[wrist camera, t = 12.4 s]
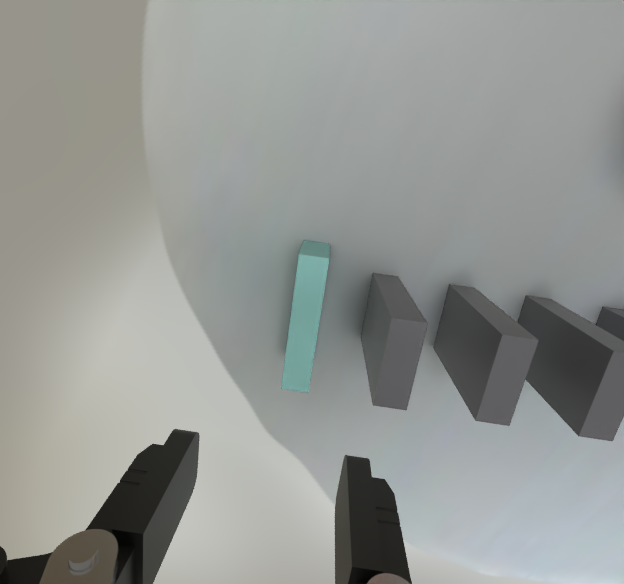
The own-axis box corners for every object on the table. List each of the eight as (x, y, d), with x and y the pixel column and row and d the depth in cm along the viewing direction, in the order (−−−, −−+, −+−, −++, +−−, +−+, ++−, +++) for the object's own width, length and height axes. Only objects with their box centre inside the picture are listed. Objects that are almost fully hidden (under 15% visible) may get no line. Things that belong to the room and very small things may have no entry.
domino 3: (474, 288, 28) (538, 340, 19) (457, 351, 29) (509, 425, 21) (449, 284, 28) (502, 334, 19) (433, 347, 29) (475, 420, 21)
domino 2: (398, 276, 28) (427, 323, 19) (384, 340, 29) (406, 410, 21) (373, 272, 28) (391, 318, 19) (360, 336, 29) (372, 405, 21)
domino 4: (551, 299, 28) (650, 356, 19) (529, 361, 29) (612, 441, 21) (526, 295, 28) (613, 351, 19) (505, 358, 29) (578, 436, 21)
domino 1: (311, 357, 30) (329, 243, 27) (308, 392, 25) (329, 258, 23) (288, 354, 30) (304, 239, 27) (280, 388, 25) (298, 253, 23)
